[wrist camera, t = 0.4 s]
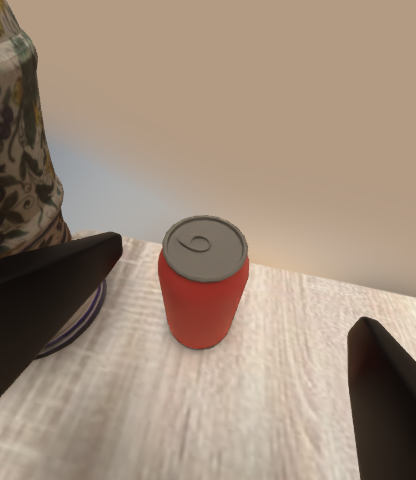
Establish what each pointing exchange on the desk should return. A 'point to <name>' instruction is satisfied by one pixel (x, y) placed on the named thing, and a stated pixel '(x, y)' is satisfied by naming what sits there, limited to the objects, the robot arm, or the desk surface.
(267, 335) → the desk surface
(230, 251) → the beer can
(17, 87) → the vase
